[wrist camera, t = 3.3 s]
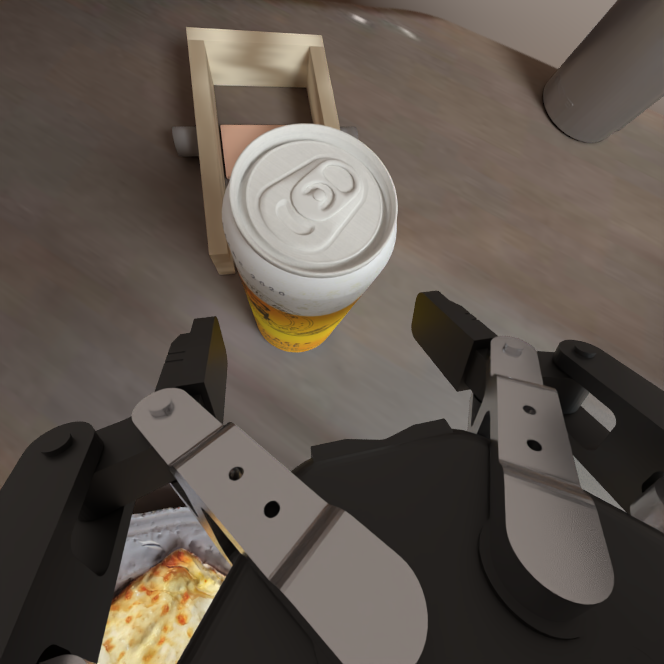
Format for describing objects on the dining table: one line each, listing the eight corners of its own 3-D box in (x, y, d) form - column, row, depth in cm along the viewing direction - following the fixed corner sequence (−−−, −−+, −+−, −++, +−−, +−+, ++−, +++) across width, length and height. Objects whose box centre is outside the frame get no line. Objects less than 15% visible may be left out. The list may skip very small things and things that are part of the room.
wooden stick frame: (336, 78, 29) (344, 36, 26) (373, 261, 26) (387, 241, 22) (174, 72, 26) (158, 25, 23) (192, 277, 23) (177, 257, 20)
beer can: (239, 316, 23) (168, 185, 9) (294, 265, 25) (312, 81, 10) (296, 369, 23) (322, 330, 8) (348, 315, 24) (444, 203, 10)
